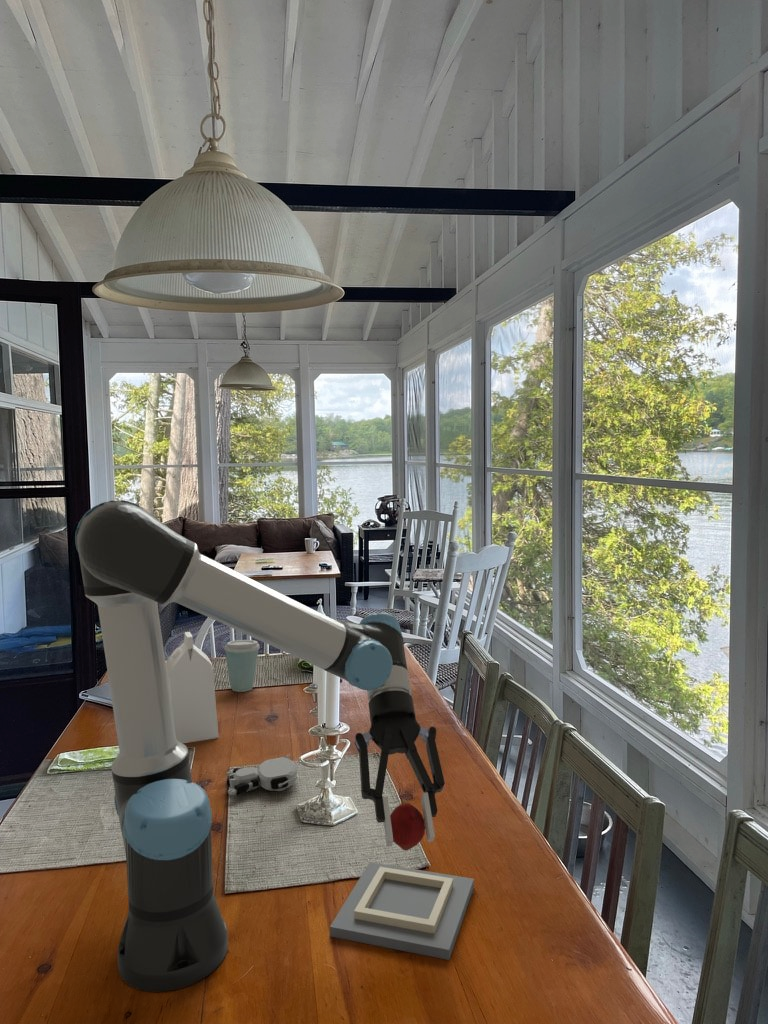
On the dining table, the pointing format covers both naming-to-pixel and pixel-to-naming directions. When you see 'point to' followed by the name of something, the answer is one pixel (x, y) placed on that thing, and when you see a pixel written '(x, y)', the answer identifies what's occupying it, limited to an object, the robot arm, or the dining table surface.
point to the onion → (407, 825)
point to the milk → (192, 693)
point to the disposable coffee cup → (241, 663)
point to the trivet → (405, 910)
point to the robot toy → (263, 776)
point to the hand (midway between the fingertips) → (410, 841)
